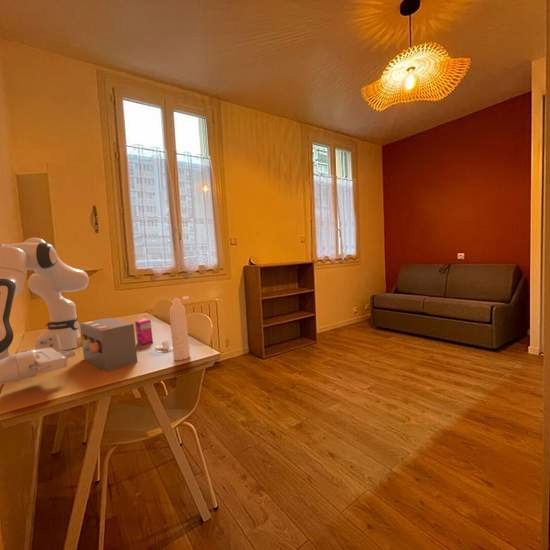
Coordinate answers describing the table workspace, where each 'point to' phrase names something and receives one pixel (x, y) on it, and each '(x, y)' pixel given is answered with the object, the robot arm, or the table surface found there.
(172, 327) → the water bottle
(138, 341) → the supplement box
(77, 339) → the ochre button
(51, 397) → the table surface
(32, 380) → the table surface
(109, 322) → the box
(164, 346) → the teacup and saucer
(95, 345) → the terracotta button
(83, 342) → the sage button
